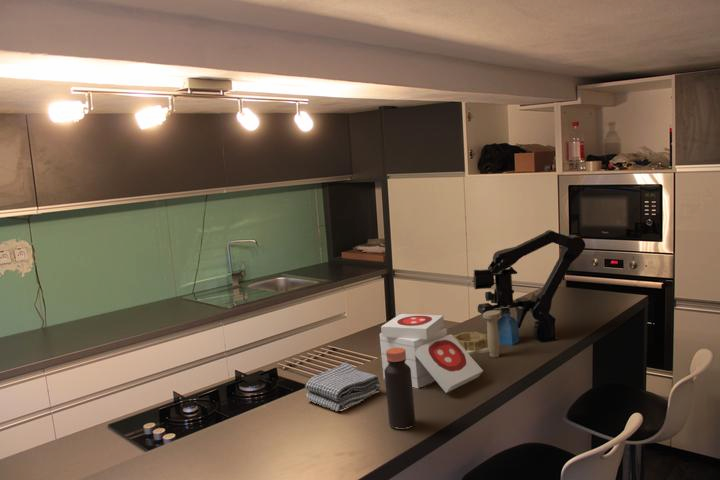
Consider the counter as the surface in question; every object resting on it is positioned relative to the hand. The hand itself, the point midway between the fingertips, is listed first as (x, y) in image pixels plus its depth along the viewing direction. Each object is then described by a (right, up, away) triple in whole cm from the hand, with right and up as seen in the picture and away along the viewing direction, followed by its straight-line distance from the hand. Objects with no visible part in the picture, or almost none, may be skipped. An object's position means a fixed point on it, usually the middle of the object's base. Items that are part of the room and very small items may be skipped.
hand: (506, 329), depth 214 cm
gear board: (-13, -6, -2) cm, 15 cm away
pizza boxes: (-30, -12, -28) cm, 43 cm away
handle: (-7, -7, -13) cm, 16 cm away
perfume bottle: (0, -5, +1) cm, 5 cm away
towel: (-57, -15, -36) cm, 69 cm away
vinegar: (-41, -16, -57) cm, 72 cm away
